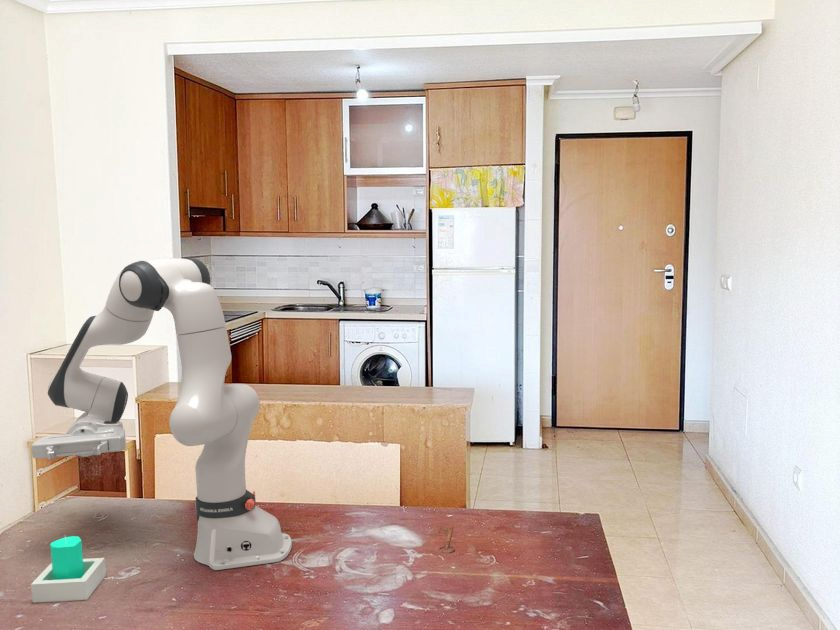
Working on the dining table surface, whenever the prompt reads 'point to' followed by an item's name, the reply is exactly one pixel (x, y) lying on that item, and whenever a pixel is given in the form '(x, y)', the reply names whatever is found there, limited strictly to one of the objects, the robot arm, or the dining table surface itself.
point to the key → (447, 538)
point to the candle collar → (69, 583)
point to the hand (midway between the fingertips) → (73, 453)
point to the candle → (67, 558)
